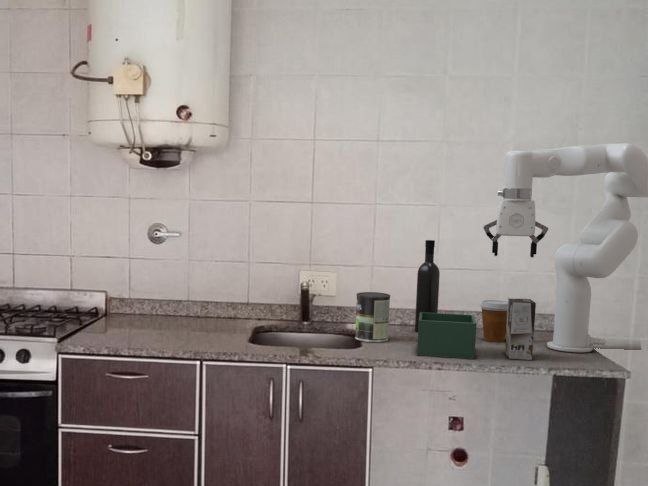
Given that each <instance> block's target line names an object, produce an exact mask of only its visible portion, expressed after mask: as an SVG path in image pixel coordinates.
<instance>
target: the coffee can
mask: <svg viewBox="0 0 648 486" xmlns="http://www.w3.org/2000/svg"><path fill="white" fill-rule="evenodd" d="M390 303H391V294H389V293H386V292H379V291H377V292H375V291H362V292H357V293H356V305H355V306H356V309H355V334H354V335H355V336H354V340H356V341H358V342H359V341H360V342H365V343H385V342H388V341H389V328H390V327H389V326H390V325H389V324H390Z"/></svg>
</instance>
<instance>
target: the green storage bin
mask: <svg viewBox="0 0 648 486" xmlns="http://www.w3.org/2000/svg"><path fill="white" fill-rule="evenodd" d="M476 339H477V320H476V316H475V315H474V314H462V313H444V312H443V313H442V312H438V313H428V312H420V315H419V324H418V332H417V345H416V347H417V349H416V355H417V356H422V357H423V356H425V357H439V358H455V359H468V360H469V359H470V360H475V359H476V341H477V340H476Z"/></svg>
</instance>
